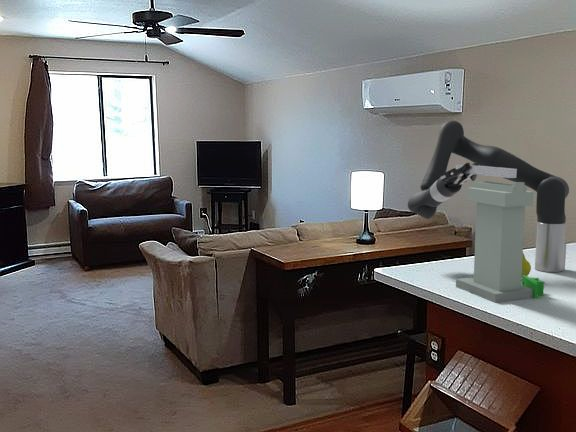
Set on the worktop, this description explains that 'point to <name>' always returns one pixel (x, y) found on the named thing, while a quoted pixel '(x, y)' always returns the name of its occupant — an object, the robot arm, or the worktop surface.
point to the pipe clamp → (533, 285)
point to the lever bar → (491, 171)
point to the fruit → (525, 266)
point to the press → (498, 241)
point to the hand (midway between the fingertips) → (473, 165)
